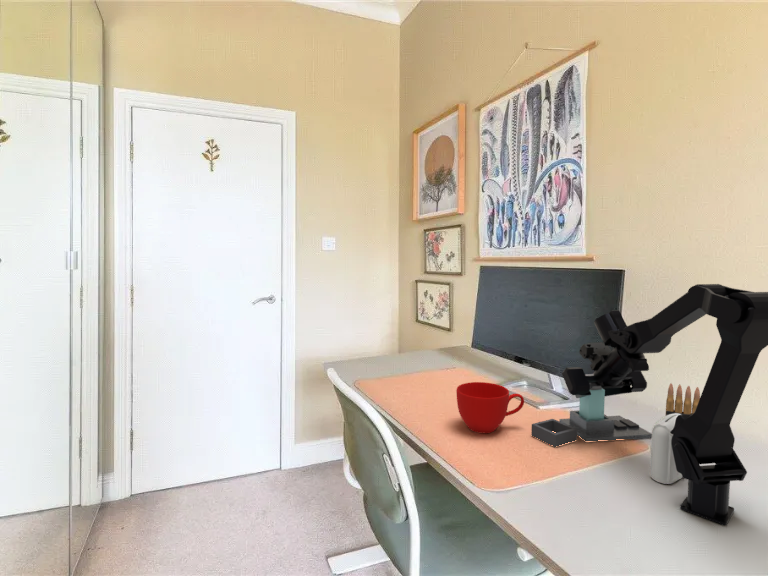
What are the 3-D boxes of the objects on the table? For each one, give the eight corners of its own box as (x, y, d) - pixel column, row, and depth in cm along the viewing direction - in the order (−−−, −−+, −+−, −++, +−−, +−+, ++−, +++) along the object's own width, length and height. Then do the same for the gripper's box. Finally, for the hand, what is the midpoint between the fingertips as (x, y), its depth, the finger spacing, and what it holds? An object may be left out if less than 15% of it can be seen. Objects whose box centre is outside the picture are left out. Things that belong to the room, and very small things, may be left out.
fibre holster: (576, 441, 104) (577, 428, 103) (555, 447, 100) (555, 435, 100) (552, 430, 110) (552, 418, 110) (531, 436, 107) (531, 424, 106)
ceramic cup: (531, 439, 105) (532, 398, 104) (460, 438, 105) (460, 398, 105) (516, 418, 118) (516, 382, 117) (452, 418, 118) (453, 381, 117)
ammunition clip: (717, 438, 105) (720, 389, 104) (717, 441, 104) (720, 391, 102) (664, 427, 111) (666, 381, 110) (663, 430, 110) (666, 383, 109)
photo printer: (670, 464, 93) (673, 406, 91) (693, 472, 89) (697, 413, 88) (645, 478, 87) (648, 417, 86) (669, 487, 83) (673, 424, 82)
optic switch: (652, 438, 105) (653, 422, 105) (586, 442, 103) (586, 426, 103) (619, 419, 117) (620, 404, 117) (559, 422, 115) (559, 407, 114)
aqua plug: (603, 429, 108) (605, 377, 107) (588, 430, 107) (589, 378, 106) (593, 423, 112) (595, 373, 111) (578, 424, 111) (580, 374, 110)
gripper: (640, 332, 105) (609, 366, 116) (567, 334, 102) (543, 368, 114) (664, 374, 98) (628, 405, 109) (586, 377, 95) (558, 409, 107)
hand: (588, 395), depth 110 cm, fingers open, 6 cm apart
